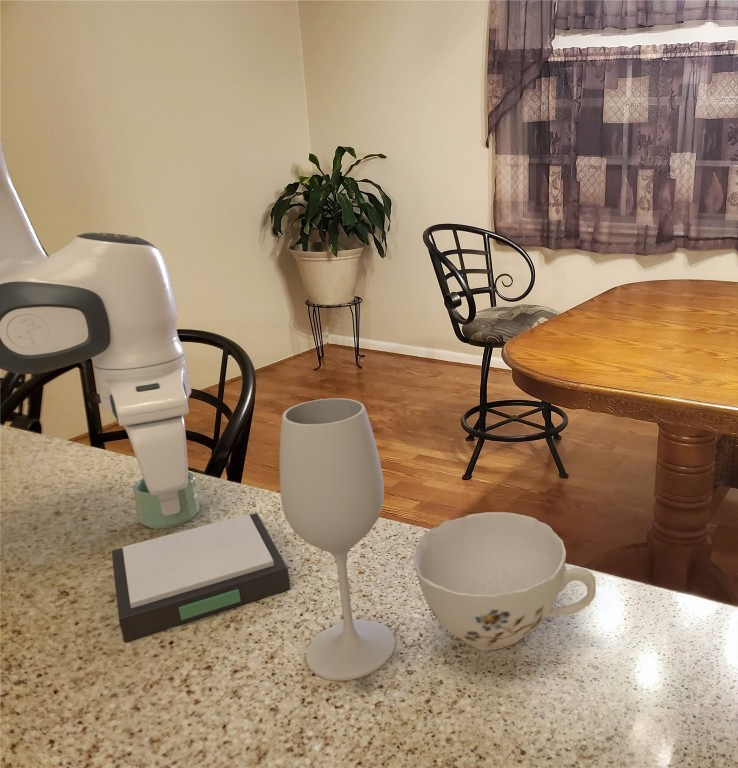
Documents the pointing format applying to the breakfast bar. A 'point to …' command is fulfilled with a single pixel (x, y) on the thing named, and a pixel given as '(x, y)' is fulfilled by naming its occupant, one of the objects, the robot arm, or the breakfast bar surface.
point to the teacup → (495, 577)
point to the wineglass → (335, 517)
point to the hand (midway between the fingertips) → (167, 498)
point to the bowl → (151, 506)
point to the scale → (195, 574)
